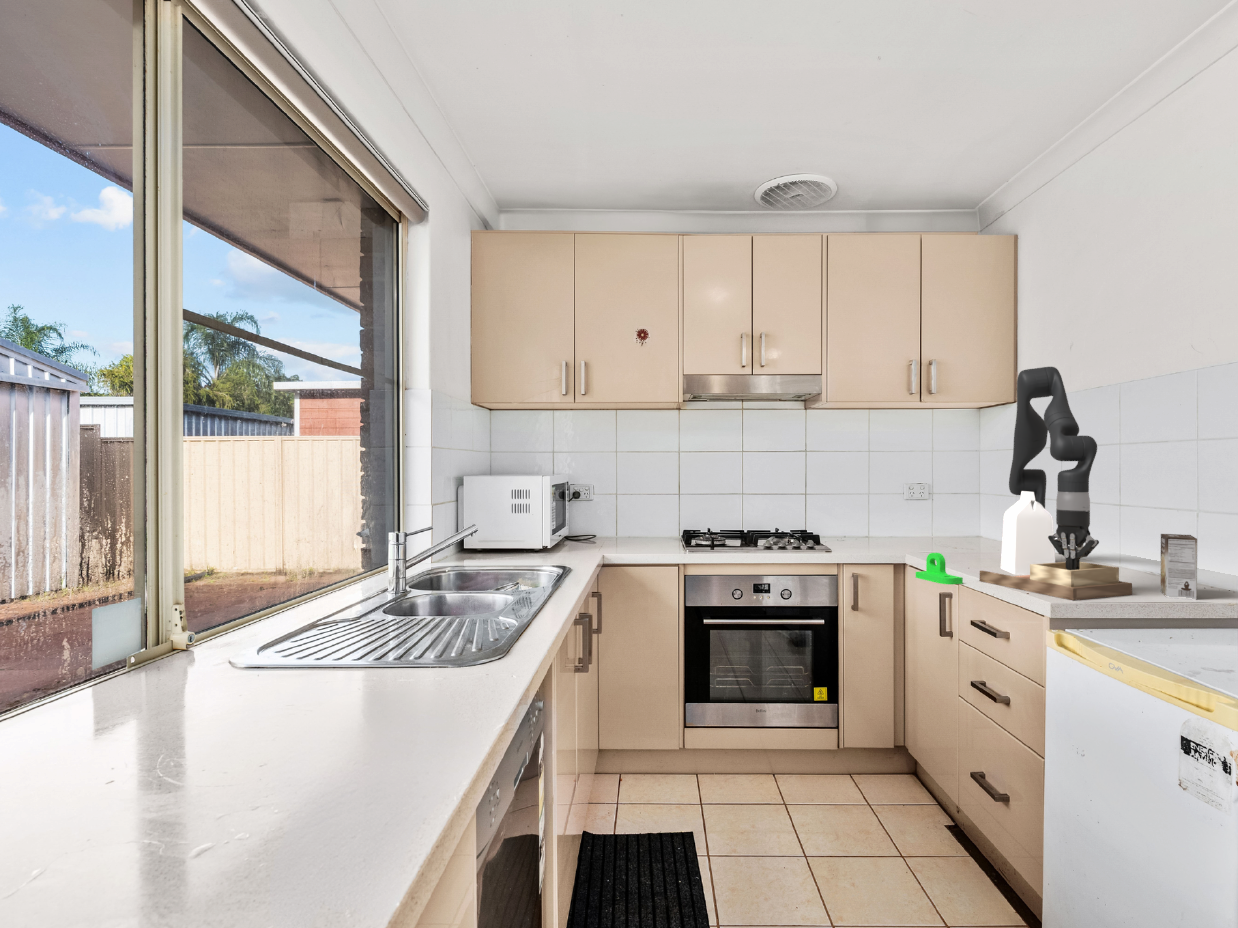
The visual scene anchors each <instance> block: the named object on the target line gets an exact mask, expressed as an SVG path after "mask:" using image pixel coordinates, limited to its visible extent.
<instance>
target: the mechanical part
mask: <svg viewBox="0 0 1238 928" xmlns="http://www.w3.org/2000/svg"><path fill="white" fill-rule="evenodd" d="M925 561H926V564H925V565H926V567H925V569H926V570H923V571H921V570H920V571H915V578H916V579H920V580H924V581H928V582H931V583H935V584H936V583H937V584H940V585H941V584H942V585H963V583H964V582H963V577H961V576H957V575H954V574H953V575H952V574H948V573H947V571H946V558H945V556H944V555H943V554H942V553H940V552H931V553H928V555H927V556H926V560H925Z"/></svg>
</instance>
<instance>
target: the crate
mask: <svg viewBox="0 0 1238 928" xmlns="http://www.w3.org/2000/svg"><path fill="white" fill-rule="evenodd" d="M1030 579H1031V580H1036V581H1041V582H1047V583H1052V584H1057V585H1063V586H1068V587H1080V586H1091V585H1103V584H1114V583H1119V581H1120V567H1116V566H1111V565H1105V564H1098V563H1091V562H1085V561H1080V569H1079V570H1067V569H1066V561H1058V562H1055V563H1043V564H1030Z"/></svg>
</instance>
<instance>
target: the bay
mask: <svg viewBox="0 0 1238 928" xmlns="http://www.w3.org/2000/svg"><path fill="white" fill-rule="evenodd" d="M979 582H981V583H982V582H983V583H987V584H992V585H997V586H1002V587H1006V588H1011V589H1016V590H1021V591H1024V592H1025V591H1026V592H1030V593H1036V594H1040V595H1045V596H1050V597H1055V598H1060V599H1063V600H1064V599H1065V600H1069V601H1081V600H1090V599H1101V598H1104V599H1105V598H1113V597H1114V598H1115V597H1123V596H1133V583H1132V582H1128V581H1127V582H1126V581H1122V580H1119V583H1114V584H1103V585H1091V586H1080V587H1068V586H1063V585H1057V584H1052V583H1047V582H1041V581H1036V580H1031V579H1030V575H1007V574H1004V573H998V572H993V571H992V572H991V571H987V570H979Z"/></svg>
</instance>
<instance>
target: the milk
mask: <svg viewBox="0 0 1238 928" xmlns="http://www.w3.org/2000/svg"><path fill="white" fill-rule="evenodd" d="M1002 518H1003V520H1002V536H1001V537H1002V539H1001V556H1000V569H1001V570H1003V571H1005V572H1008V573H1010V574H1012V575H1013V576H1022V575H1030V564H1043V563H1056V553H1055V551H1056V549H1055V548H1054V546H1053V545H1052V543H1051V542H1050V540H1049V539H1048V536H1051V535H1054V534H1055V533H1054V531H1055V530H1054V517H1053V516H1052V514H1051V513H1050V511H1048V510H1047V509H1046V508H1045V509H1044V507H1043V506H1042V505H1041V504H1040V503H1039V502H1036V501H1035V496H1034V492H1029V491H1021V495H1020V499H1019V500H1017V501H1016V502H1015V503H1014V504H1013V505H1011V506H1010V507H1009V508H1007V509H1006V510H1005V512H1004V514H1003V517H1002Z"/></svg>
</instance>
